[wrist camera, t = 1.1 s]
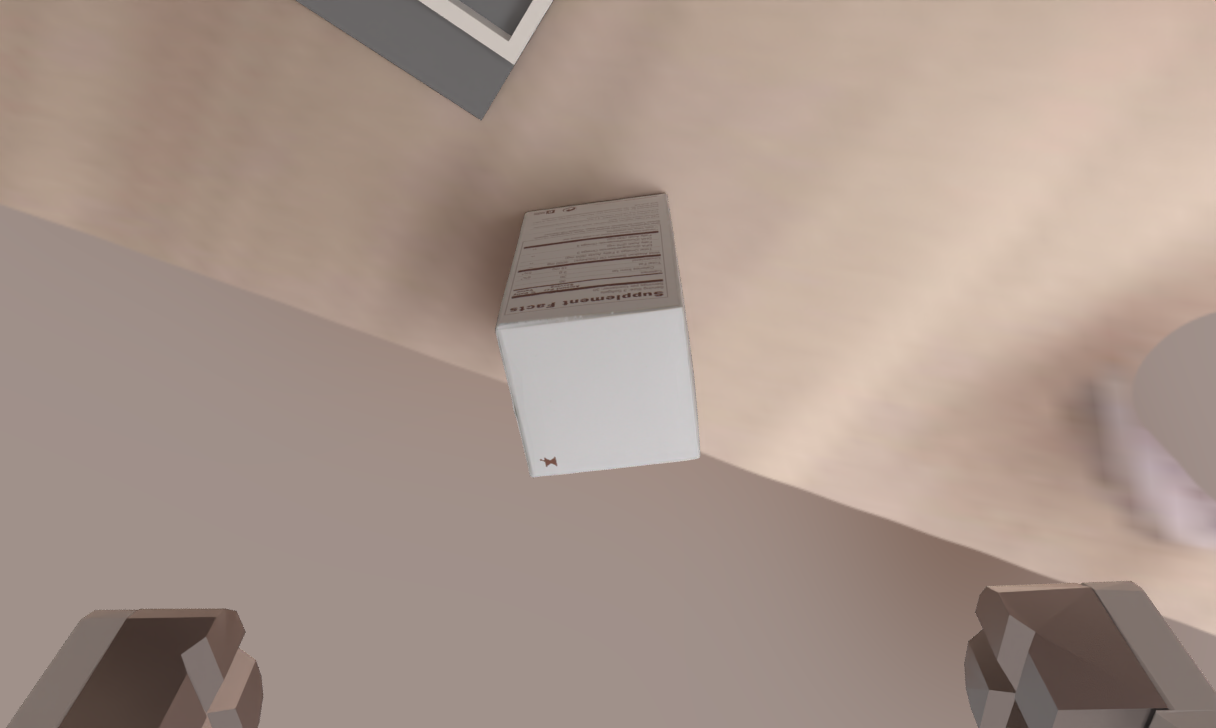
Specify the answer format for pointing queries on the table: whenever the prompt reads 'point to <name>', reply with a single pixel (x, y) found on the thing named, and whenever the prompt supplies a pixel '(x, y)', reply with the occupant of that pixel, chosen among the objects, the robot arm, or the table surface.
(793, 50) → the table surface
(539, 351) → the supplement box
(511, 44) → the frame
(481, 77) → the desk mat
